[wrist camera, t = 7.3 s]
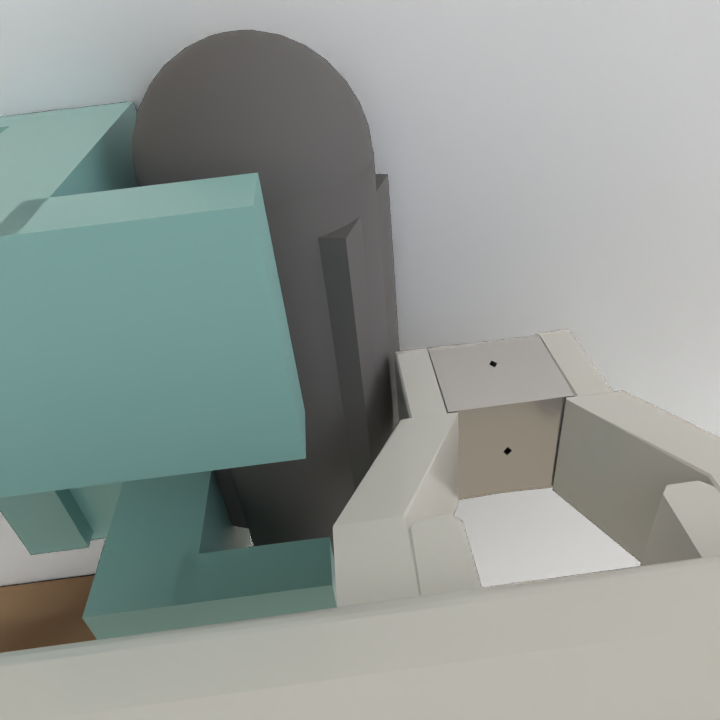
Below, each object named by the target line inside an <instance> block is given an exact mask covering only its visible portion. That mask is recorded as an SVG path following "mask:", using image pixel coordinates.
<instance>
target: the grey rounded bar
mask: <svg viewBox="0 0 720 720" xmlns="http://www.w3.org/2000/svg"><path fill="white" fill-rule="evenodd" d="M132 146H133V167H134V171H135V176H136V180H137V185H138V187H142V186H150V185H158V184H167V183H175V182H183V181H191V180H200V179H208V178H216V177H224V176H233V175H241V174H249V173H257V172H258V175H259V180H260V185H261V191H262V196H263V201H264V206H265V211H266V216H267V221H268V226H269V231H270V236H271V241H272V246H273V252H274V257H275V262H276V267H277V272H278V277H279V282H280V287H281V292H282V297H283V302H284V307H285V312H286V318H287V323H288V328H289V333H290V338H291V343H292V348H293V353H294V358H295V363H296V368H297V373H298V378H299V384H300V389H301V394H302V399H303V404H304V409H305V437H306V459H298V460H290V461H282V462H275V463H267V464H259V465H251V466H243V467H236V468H228V469H220V470H213V471H214V474H215V477H216V480H217V483H218V485H219V488H220V491H221V494H222V497H223V500H224V503H225V506H226V508H227V511H228V514H229V517H230V520H231V523H232V526H237V527H242V528H247V529H249V532H250V535H251V538H252V541H253V544H254V546H262V545H269V544H277V543H285V542H293V541H300V540H308V539H316V538H323V537H330V541H331V546H332V551H333V556H334V542H333V525H334V524H335V522H336V521H337V519H338V517H339V516H340V514H341V513H342V511H343V510H344V508H345V506H346V505H347V503H348V502H349V500H350V499H351V497H352V495H353V494H354V492H355V491H356V489H357V488H358V486H359V484H360V483H361V481H362V480H363V478H364V477H365V475H366V473H367V472H368V470H369V469H370V467H371V465H372V464H373V462H374V461H375V459H376V458H377V456H378V454H379V453H380V451H381V450H382V448H383V447H384V445H385V443H386V442H387V440H388V439H389V437H390V436H391V434H392V432H393V431H394V429H395V428H396V426H397V425H398V423H399V414H398V406H397V392H396V379H395V365H394V354H395V352H397V351H399V338H398V323H397V307H396V292H395V276H394V261H393V245H392V230H391V214H390V199H389V184H388V174H375V164H374V152H373V147H372V142H371V136H370V130H369V125H368V123H367V120H366V117H365V115H364V112H363V110H362V107H361V104H360V102H359V101H358V99H357V97H356V96H355V94H354V93H353V91H352V89H351V88H350V86H349V85H348V83H347V82H346V80H345V79H344V78H343V77H342V76H341V75H340V74H339V73H338V72H337V71H336V70H335V69H334V68H333V67H332V66H331V65H330V63H329V62H328V61H327V60H326V59H324V58H323V57H321V56H320V55H318V54H317V53H316V52H314V51H313V50H311V49H310V48H308V47H307V46H305V45H303V44H301V43H298V42H296V41H294V40H291V39H289V38H286V37H284V36H282V35H279V34H273V33H267V32H261V31H256V30H238V31H230V32H223V33H218V34H214V35H211V36H208V37H206V38H204V39H202V40H200V41H198V42H196V43H194V44H192V45H190V46H188V47H186V48H184V49H183V50H182V51H181V52H180V53H178V54H177V55H176V56H175V57H174V58H172V59H171V60H170V61H169V62H167V63H166V64H165V65H164V66H163V67H162V69H161V70H160V71H159V73H158V74H157V75H156V77H155V78H154V79H153V81H152V82H151V83H150V85H149V87H148V89H147V91H146V93H145V96H144V98H143V100H142V102H141V105H140V107H139V110H138V113H137V118H136V122H135V127H134V132H133V137H132Z"/></svg>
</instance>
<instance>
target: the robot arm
mask: <svg viewBox="0 0 720 720" xmlns="http://www.w3.org/2000/svg"><path fill="white" fill-rule="evenodd" d="M394 365H395V379H396V392H397V406H398V414H399V423H398V425H397V426H396V428H395V429H394V431H393V432H392V434H391V436H390V437H389V439H388V440H387V442H386V443H385V445H384V447H383V448H382V450H381V451H380V453H379V454H378V456H377V458H376V459H375V461H374V462H373V464H372V465H371V467H370V469H369V470H368V472H367V473H366V475H365V477H364V478H363V480H362V481H361V483H360V484H359V486H358V488H357V489H356V491H355V492H354V494H353V495H352V497H351V499H350V500H349V502H348V503H347V505H346V506H345V508H344V510H343V511H342V513H341V514H340V516H339V517H338V519H337V521H336V522H335V524H334V525H333V542H334V561H335V579H336V597H337V607H335V608H327V609H320V610H313V611H305V612H298V613H290V614H283V615H276V616H268V617H261V618H254V619H246V620H239V621H231V622H224V623H217V624H209V625H202V626H195V627H187V628H180V629H172V630H165V631H158V632H150V633H143V634H136V635H128V636H121V637H114V638H106V639H99V640H91V641H84V642H77V643H69V644H62V645H55V646H47V647H40V648H33V649H25V650H18V651H11V652H3V653H0V720H720V437H718V436H716V435H713V434H711V433H709V432H707V431H705V430H703V429H701V428H699V427H697V426H695V425H693V424H691V423H689V422H686V421H684V420H682V419H680V418H678V417H676V416H674V415H672V414H670V413H668V412H666V411H664V410H661V409H659V408H657V407H655V406H653V405H651V404H649V403H647V402H645V401H643V400H641V399H639V398H637V397H634V396H632V395H630V394H628V393H626V392H624V391H614V392H612V390H611V389H610V387H609V386H608V384H607V383H606V381H605V380H604V378H603V377H602V376H601V374H600V373H599V371H598V370H597V368H596V367H595V365H594V364H593V362H592V361H591V359H590V358H589V357H588V355H587V354H586V352H585V351H584V349H583V348H582V346H581V345H580V343H579V342H578V340H577V339H576V338H575V336H574V335H573V333H572V332H571V331H569V330H567V329H564V330H557V331H551V332H545V333H539V334H535V335H532V336H525V337H518V338H510V339H503V340H496V341H484V342H475V343H466V344H457V345H447V346H438V347H429V348H426V349H425V348H421V349H413V350H405V351H397V352H395V354H394ZM551 487H553V491H555V492H556V493H557V494H558V495H559V496H561V497H562V498H563V499H564V500H565V501H567V502H568V503H569V504H570V505H572V506H573V507H574V508H575V509H576V510H578V511H579V512H580V513H581V514H582V515H584V516H585V517H586V518H587V519H589V520H590V521H591V522H592V523H593V524H595V525H596V526H597V527H598V528H599V529H601V530H602V531H603V532H604V533H606V534H607V535H608V536H609V537H610V538H612V539H613V540H614V541H615V542H616V543H618V544H619V545H620V546H621V547H623V548H624V549H625V550H626V551H627V552H629V553H630V554H631V555H632V556H634V557H635V558H636V559H637V560H638V561H640V562H641V564H640V566H637V567H630V568H622V569H615V570H608V571H600V572H593V573H586V574H578V575H571V576H563V577H556V578H549V579H541V580H534V581H526V582H519V583H512V584H504V585H497V586H490V587H482V586H481V582H480V579H479V575H478V572H477V569H476V565H475V562H474V558H473V555H472V551H471V548H470V544H469V541H468V538H467V534H466V531H465V527H464V524H463V520H460V519H458V518H456V517H454V513H455V511H456V508H457V506H458V500H461V499H467V498H473V497H480V496H486V495H492V494H498V493H505V492H514V491H523V490H533V489H542V488H551Z"/></svg>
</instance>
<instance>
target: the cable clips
mask: <svg viewBox="0 0 720 720" xmlns="http://www.w3.org/2000/svg"><path fill="white" fill-rule="evenodd" d="M136 118H137V113H136V110H135V106H134V103H133V101H131V102H123V103H114V104H106V105H97V106H89V107H81V108H72V109H64V110H55V111H47V112H38V113H30V114H22V115H13V116H5V117H0V511H1V513H2V514H3V515H4V517H5V518H6V520H7V521H8V523H9V524H10V525H11V527H12V528H13V530H14V531H15V533H16V534H17V535H18V537H19V538H20V540H21V541H22V543H23V544H24V545H25V547H26V548H27V550H28V551H29V553H30V554H31V555H35V554H42V553H50V552H58V551H65V550H73V549H81V548H88V547H89V544H90V541H91V540H93V539H101V538H106V540H105V544H104V547H103V550H102V554H101V557H100V560H99V563H98V567H97V570H96V573H95V577H94V580H93V583H92V587H91V590H90V593H89V596H88V600H87V603H86V606H85V610H84V613H83V616H82V618H83V620H84V621H85V623H86V624H87V626H88V627H89V629H90V630H91V632H92V633H93V634H94V636H95V637H96V639H97V640H99V639H106V638H114V637H121V636H128V635H136V634H143V633H150V632H158V631H165V630H172V629H180V628H187V627H195V626H202V625H209V624H217V623H224V622H231V621H239V620H246V619H254V618H261V617H268V616H276V615H283V614H290V613H298V612H305V611H313V610H320V609H327V608H335V607H337V597H336V579H335V561H334V556H333V551H332V546H331V541H330V537H323V538H316V539H308V540H300V541H293V542H285V543H277V544H269V545H262V546H254V547H249V543H250V532H249V529H247V528H242V527H237V526H232V523H231V520H230V517H229V514H228V511H227V508H226V506H225V503H224V500H223V497H222V494H221V491H220V488H219V485H218V483H217V480H216V477H215V474H214V471H213V470H220V469H228V468H236V467H243V466H251V465H259V464H267V463H275V462H282V461H290V460H298V459H306V437H305V409H304V404H303V399H302V394H301V389H300V384H299V378H298V373H297V368H296V363H295V358H294V353H293V348H292V343H291V338H290V333H289V328H288V323H287V318H286V312H285V307H284V302H283V297H282V292H281V287H280V282H279V277H278V272H277V267H276V262H275V257H274V252H273V246H272V241H271V236H270V231H269V226H268V221H267V216H266V211H265V206H264V201H263V196H262V191H261V185H260V180H259V175H258V172H257V173H249V174H241V175H233V176H224V177H216V178H208V179H200V180H191V181H183V182H175V183H167V184H158V185H150V186H142V187H138V185H137V180H136V176H135V171H134V167H133V146H132V137H133V132H134V127H135V122H136Z"/></svg>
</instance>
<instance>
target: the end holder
mask: <svg viewBox="0 0 720 720" xmlns="http://www.w3.org/2000/svg"><path fill="white" fill-rule="evenodd" d="M94 577H95V575H91V576H84V577H76V578H68V579H61V580H53V581H45V582H38V583H30V584H22V585H15V586H7V587H0V653H3V652H11V651H18V650H25V649H33V648H40V647H47V646H55V645H62V644H69V643H77V642H84V641H91V640H97V639H96V637H95V636H94V634H93V633H92V632H91V630H90V629H89V627H88V626H87V624H86V623H85V621H84V620H83V618H82V616H83V613H84V610H85V606H86V603H87V600H88V596H89V593H90V590H91V587H92V583H93V580H94Z"/></svg>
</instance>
